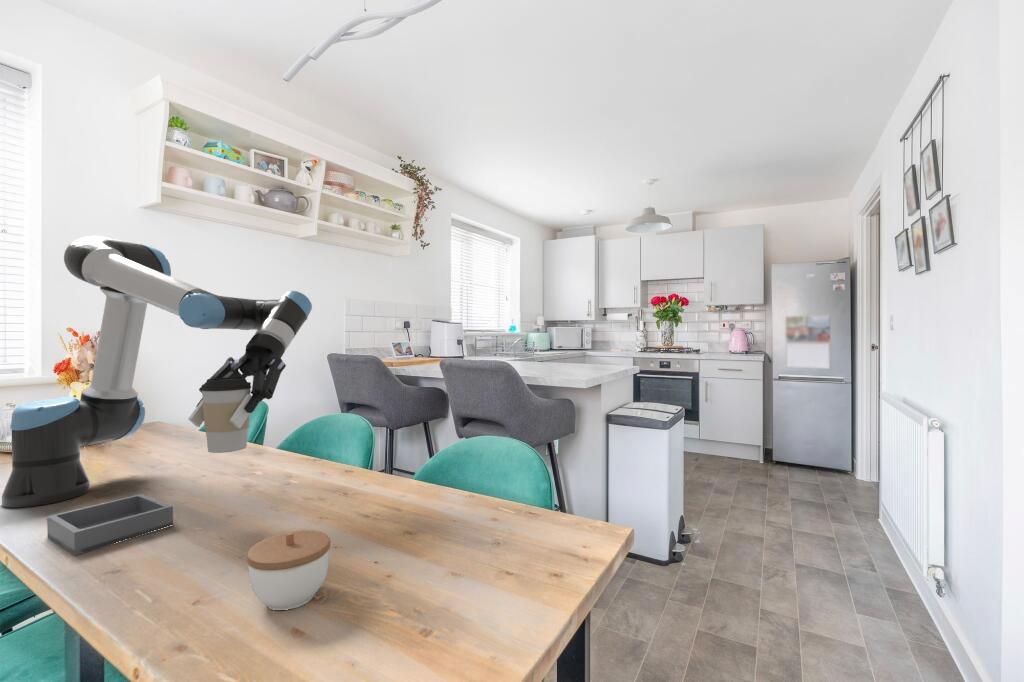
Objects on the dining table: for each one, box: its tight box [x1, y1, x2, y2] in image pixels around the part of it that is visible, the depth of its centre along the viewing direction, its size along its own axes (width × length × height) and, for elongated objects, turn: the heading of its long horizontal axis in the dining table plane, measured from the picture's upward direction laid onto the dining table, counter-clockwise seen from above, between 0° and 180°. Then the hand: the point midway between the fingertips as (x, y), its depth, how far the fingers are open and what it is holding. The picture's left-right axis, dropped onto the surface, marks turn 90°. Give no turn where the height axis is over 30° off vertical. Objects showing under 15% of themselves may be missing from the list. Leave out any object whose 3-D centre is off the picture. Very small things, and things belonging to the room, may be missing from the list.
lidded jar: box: [246, 529, 331, 611], centre depth 67 cm, size 11×11×9 cm
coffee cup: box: [200, 375, 252, 454], centre depth 97 cm, size 9×9×15 cm
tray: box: [46, 493, 174, 556], centre depth 92 cm, size 15×15×4 cm
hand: (214, 423), depth 94 cm, fingers closed on coffee cup, 9 cm apart
